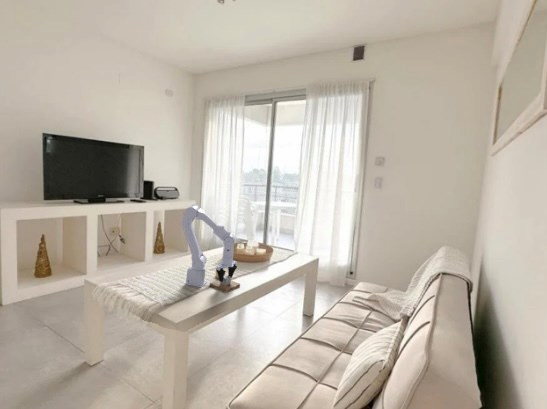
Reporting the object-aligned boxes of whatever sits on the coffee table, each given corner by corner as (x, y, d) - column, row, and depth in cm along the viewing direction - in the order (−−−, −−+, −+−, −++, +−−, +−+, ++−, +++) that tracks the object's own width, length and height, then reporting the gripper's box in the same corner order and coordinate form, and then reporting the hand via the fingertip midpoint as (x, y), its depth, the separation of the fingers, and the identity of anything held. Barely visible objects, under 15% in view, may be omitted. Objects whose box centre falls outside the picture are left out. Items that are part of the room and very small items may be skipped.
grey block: (225, 285, 168) (226, 278, 167) (220, 283, 170) (220, 276, 169) (230, 283, 171) (231, 277, 170) (225, 281, 173) (225, 274, 172)
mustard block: (220, 278, 181) (220, 272, 180) (215, 276, 183) (216, 270, 182) (224, 276, 184) (225, 270, 183) (220, 274, 186) (220, 268, 186)
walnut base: (225, 292, 162) (225, 290, 162) (209, 285, 169) (209, 283, 169) (239, 286, 172) (240, 284, 172) (224, 280, 179) (224, 277, 179)
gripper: (224, 260, 160) (221, 285, 162) (241, 255, 172) (239, 278, 174) (214, 257, 164) (212, 281, 166) (232, 252, 176) (230, 274, 178)
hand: (225, 279), depth 170 cm, fingers open, 7 cm apart
